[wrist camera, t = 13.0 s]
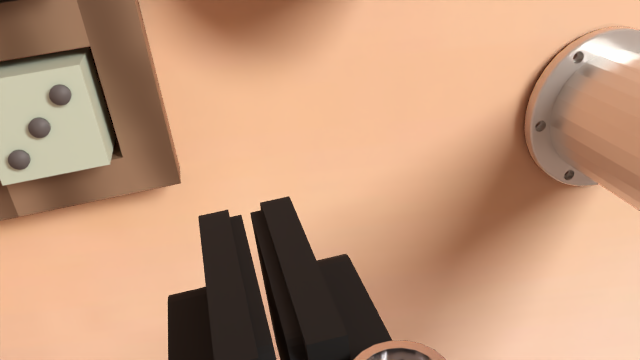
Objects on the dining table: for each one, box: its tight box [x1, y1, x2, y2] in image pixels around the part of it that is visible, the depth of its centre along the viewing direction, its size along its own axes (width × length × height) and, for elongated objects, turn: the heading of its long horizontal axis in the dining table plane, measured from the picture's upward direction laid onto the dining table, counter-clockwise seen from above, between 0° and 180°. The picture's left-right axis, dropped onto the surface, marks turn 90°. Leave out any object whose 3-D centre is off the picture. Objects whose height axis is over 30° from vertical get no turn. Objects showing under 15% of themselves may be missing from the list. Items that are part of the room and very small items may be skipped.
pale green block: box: [0, 47, 115, 186], centre depth 35 cm, size 6×6×5 cm
